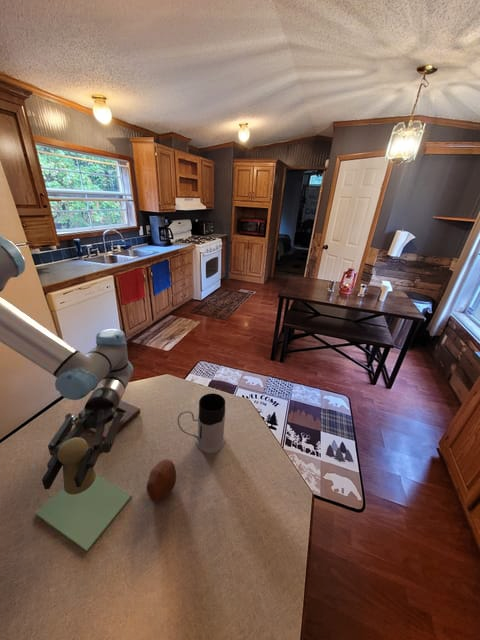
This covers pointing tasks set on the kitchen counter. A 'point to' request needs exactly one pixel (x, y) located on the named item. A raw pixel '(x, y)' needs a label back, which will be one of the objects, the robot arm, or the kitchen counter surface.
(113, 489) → the mat
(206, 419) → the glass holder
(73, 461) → the cork
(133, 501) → the kitchen counter surface
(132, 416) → the frame
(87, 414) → the robot arm
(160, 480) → the potato
